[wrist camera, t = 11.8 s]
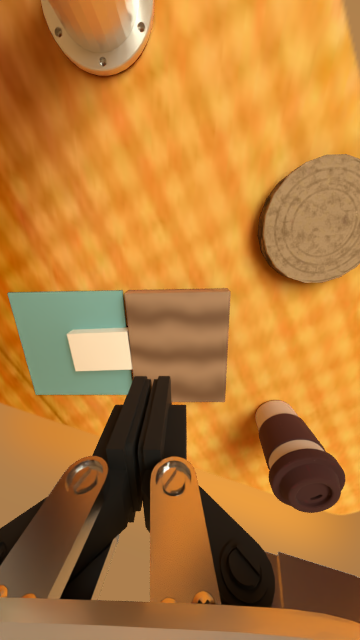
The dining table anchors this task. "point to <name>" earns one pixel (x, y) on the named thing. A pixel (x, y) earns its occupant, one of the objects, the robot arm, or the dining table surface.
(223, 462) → the dining table surface
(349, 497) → the dining table surface
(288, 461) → the coffee cup
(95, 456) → the robot arm
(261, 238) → the wood slice coaster
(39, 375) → the mat
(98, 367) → the cream foam board
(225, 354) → the panel
